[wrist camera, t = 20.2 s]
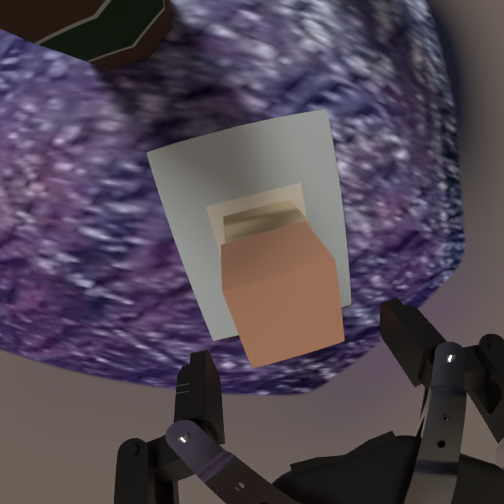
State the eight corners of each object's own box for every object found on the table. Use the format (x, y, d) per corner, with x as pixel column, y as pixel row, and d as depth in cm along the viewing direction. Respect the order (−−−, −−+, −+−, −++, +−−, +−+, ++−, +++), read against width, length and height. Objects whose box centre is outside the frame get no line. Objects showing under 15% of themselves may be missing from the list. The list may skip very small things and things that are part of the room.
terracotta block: (243, 313, 19) (252, 368, 15) (220, 245, 17) (222, 291, 13) (317, 291, 19) (344, 341, 15) (304, 221, 17) (335, 259, 13)
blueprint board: (213, 332, 28) (213, 341, 27) (150, 151, 20) (146, 152, 19) (346, 297, 28) (351, 305, 27) (321, 109, 20) (327, 109, 19)
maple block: (240, 275, 24) (245, 312, 19) (223, 216, 22) (225, 243, 17) (301, 259, 24) (320, 292, 19) (290, 199, 22) (309, 221, 17)
